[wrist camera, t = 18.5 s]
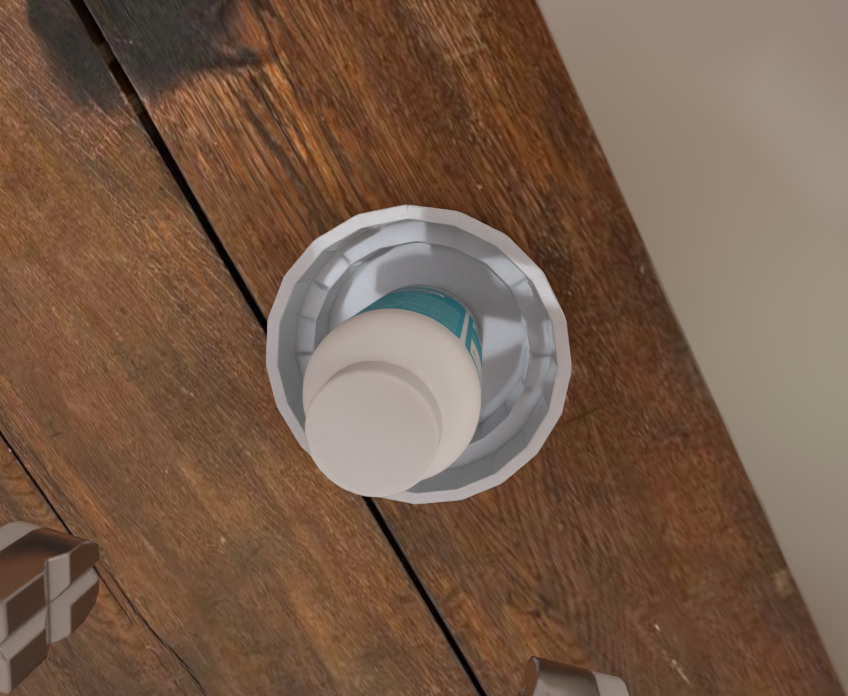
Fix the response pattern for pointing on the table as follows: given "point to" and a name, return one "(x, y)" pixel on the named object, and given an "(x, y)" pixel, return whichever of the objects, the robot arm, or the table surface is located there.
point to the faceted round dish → (472, 284)
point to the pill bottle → (394, 391)
